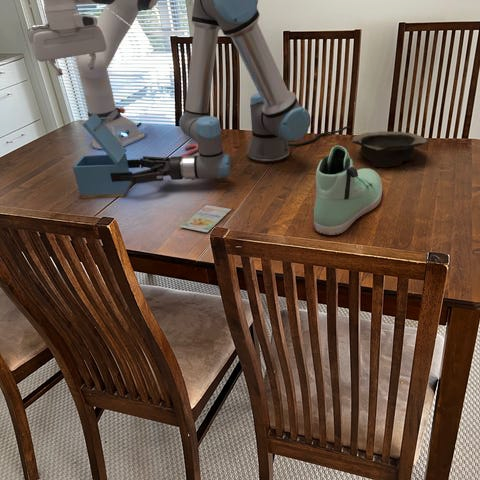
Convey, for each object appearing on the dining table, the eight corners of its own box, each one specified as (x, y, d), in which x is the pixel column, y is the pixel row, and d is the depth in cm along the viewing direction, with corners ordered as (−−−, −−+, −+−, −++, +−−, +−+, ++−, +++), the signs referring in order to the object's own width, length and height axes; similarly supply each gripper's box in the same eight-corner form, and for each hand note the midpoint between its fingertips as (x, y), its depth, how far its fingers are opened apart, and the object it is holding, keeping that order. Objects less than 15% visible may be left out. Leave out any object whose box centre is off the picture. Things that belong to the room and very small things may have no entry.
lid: (82, 124, 145) (101, 110, 142) (92, 114, 153) (111, 100, 150) (115, 164, 151) (135, 150, 148) (124, 152, 159) (142, 139, 156)
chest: (80, 198, 158) (72, 167, 152) (90, 185, 166) (82, 155, 161) (124, 196, 157) (117, 165, 151) (132, 183, 165) (125, 153, 159)
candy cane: (166, 159, 182) (166, 155, 181) (191, 146, 192) (191, 142, 191) (178, 161, 179) (177, 158, 178) (203, 148, 189) (203, 144, 188)
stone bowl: (385, 177, 154) (386, 150, 149) (337, 159, 174) (336, 134, 170) (441, 159, 162) (444, 132, 158) (389, 143, 183) (390, 119, 178)
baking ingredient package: (180, 226, 135) (206, 203, 147) (180, 227, 136) (206, 205, 147) (207, 231, 132) (231, 208, 143) (207, 232, 132) (231, 209, 143)
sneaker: (389, 187, 148) (396, 123, 138) (356, 242, 123) (361, 168, 112) (346, 181, 154) (350, 119, 144) (306, 232, 129) (307, 161, 118)
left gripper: (27, 27, 128) (42, 80, 135) (102, 17, 136) (112, 68, 143) (23, 25, 132) (37, 77, 140) (95, 16, 141) (106, 65, 148)
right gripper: (178, 193, 148) (108, 196, 150) (189, 165, 167) (127, 167, 169) (175, 171, 144) (103, 174, 146) (186, 144, 163) (122, 147, 165)
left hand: (76, 72), depth 141 cm, fingers open, 8 cm apart
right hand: (116, 170), depth 157 cm, fingers closed on chest, 10 cm apart
